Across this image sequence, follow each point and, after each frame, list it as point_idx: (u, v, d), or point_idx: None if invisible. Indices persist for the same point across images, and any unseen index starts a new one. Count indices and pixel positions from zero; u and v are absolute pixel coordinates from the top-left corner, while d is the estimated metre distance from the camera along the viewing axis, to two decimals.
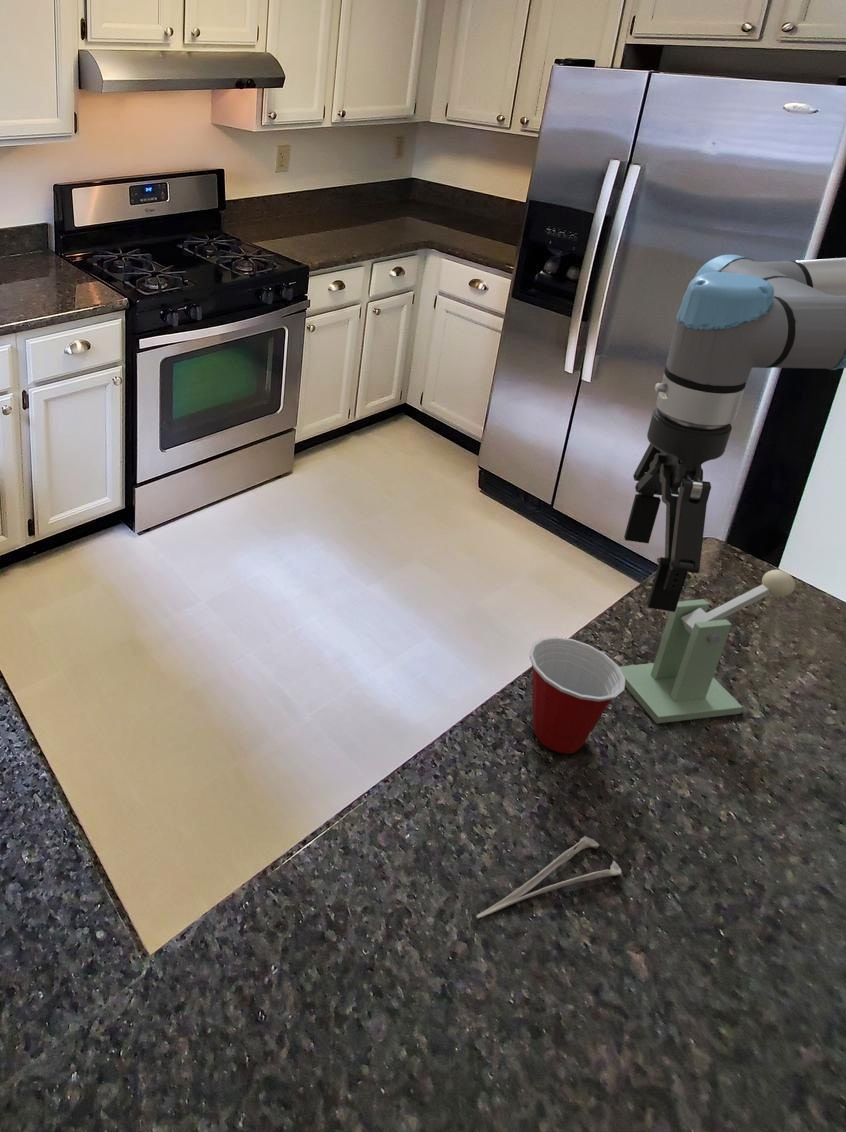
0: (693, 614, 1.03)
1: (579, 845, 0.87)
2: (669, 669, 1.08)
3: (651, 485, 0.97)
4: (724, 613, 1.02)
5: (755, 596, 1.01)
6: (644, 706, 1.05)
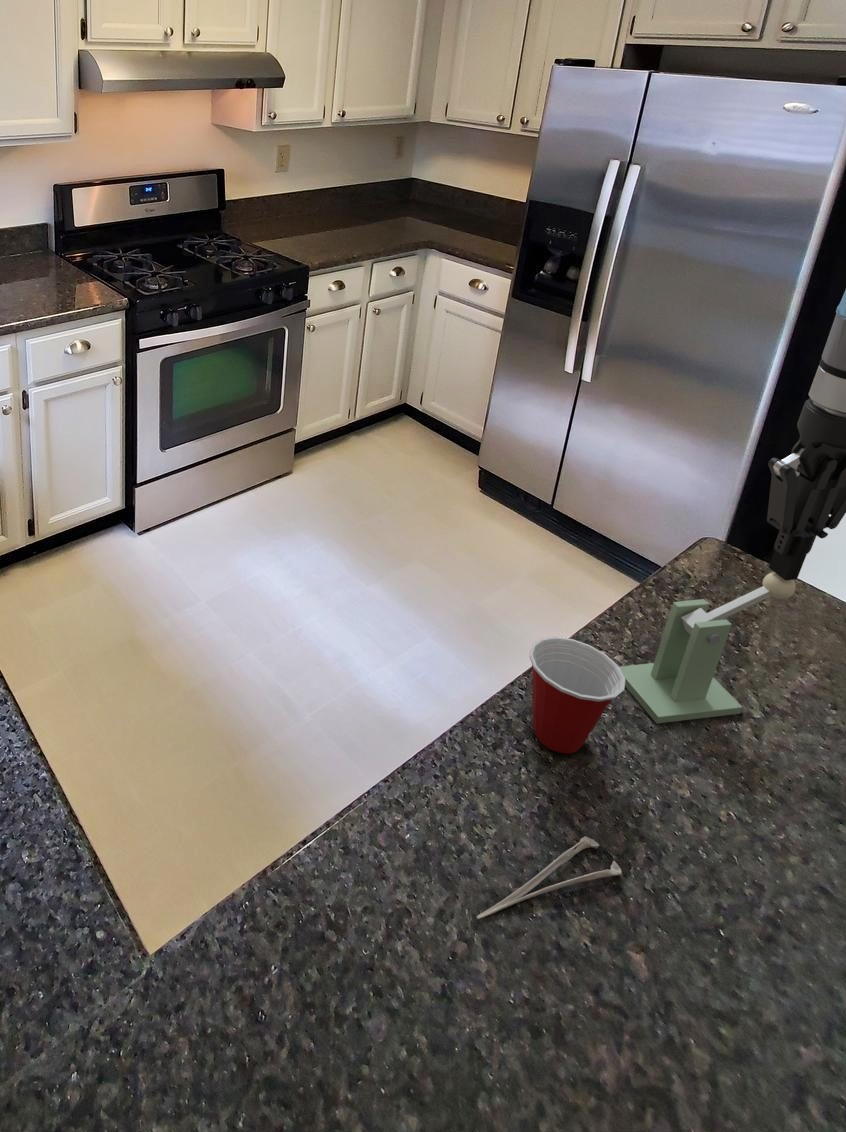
0: (693, 614, 1.03)
1: (579, 845, 0.87)
2: (669, 669, 1.08)
3: None
4: (725, 614, 1.02)
5: (756, 598, 1.02)
6: (644, 706, 1.05)
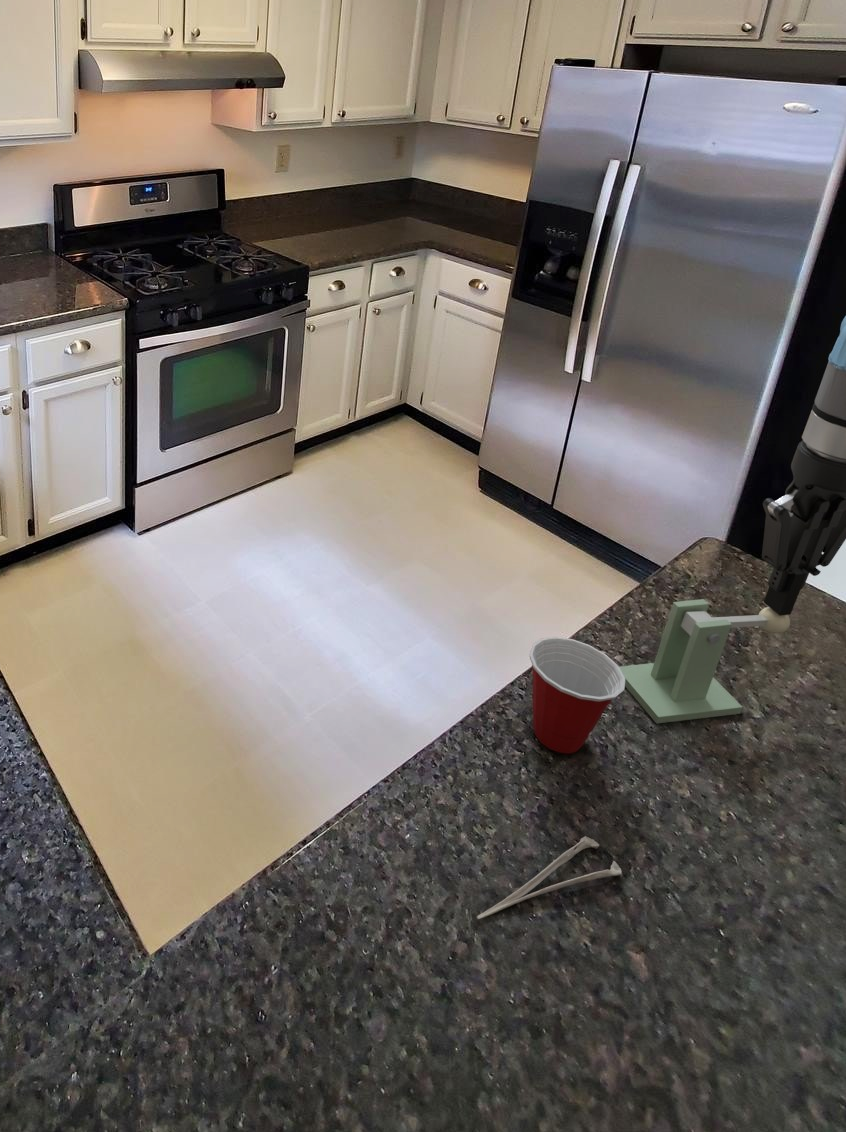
0: (698, 613, 1.03)
1: (579, 845, 0.87)
2: (669, 669, 1.08)
3: None
4: None
5: (754, 621, 1.03)
6: (644, 706, 1.05)
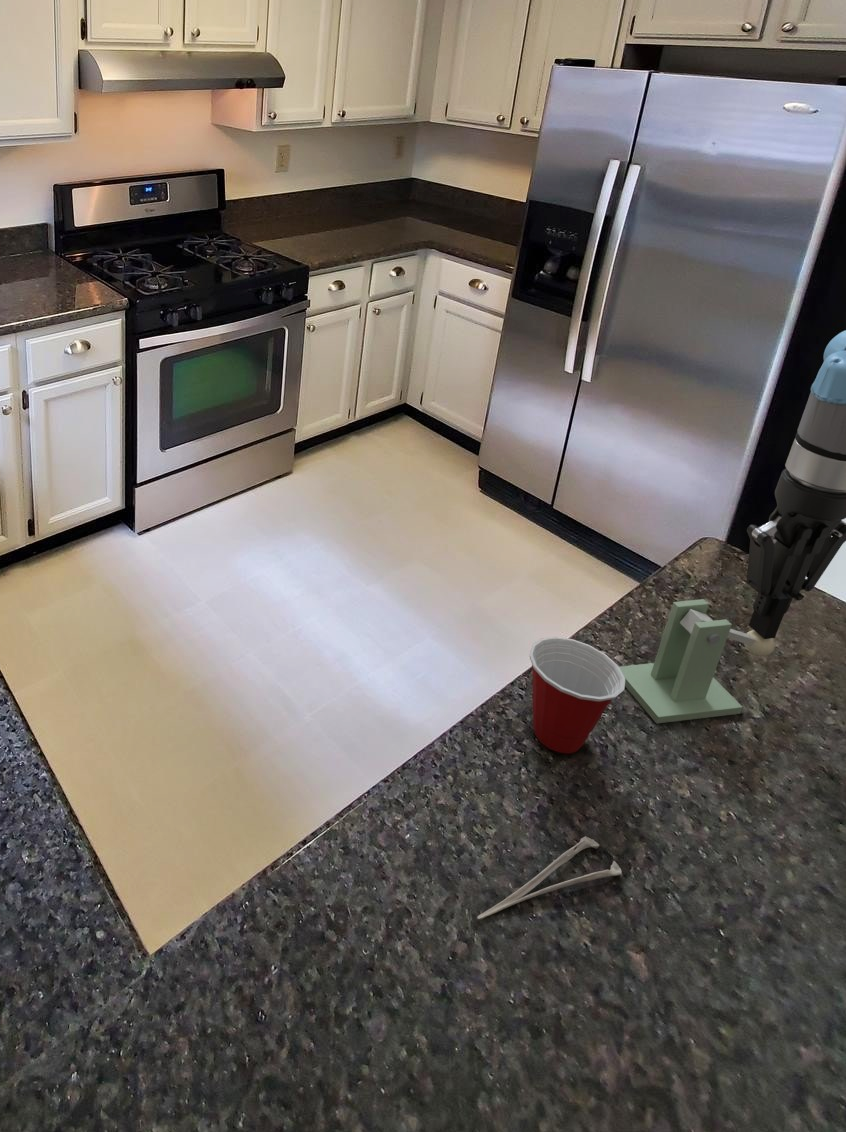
0: (701, 613, 1.03)
1: (579, 845, 0.87)
2: (669, 669, 1.08)
3: None
4: None
5: (745, 637, 1.04)
6: (644, 706, 1.05)
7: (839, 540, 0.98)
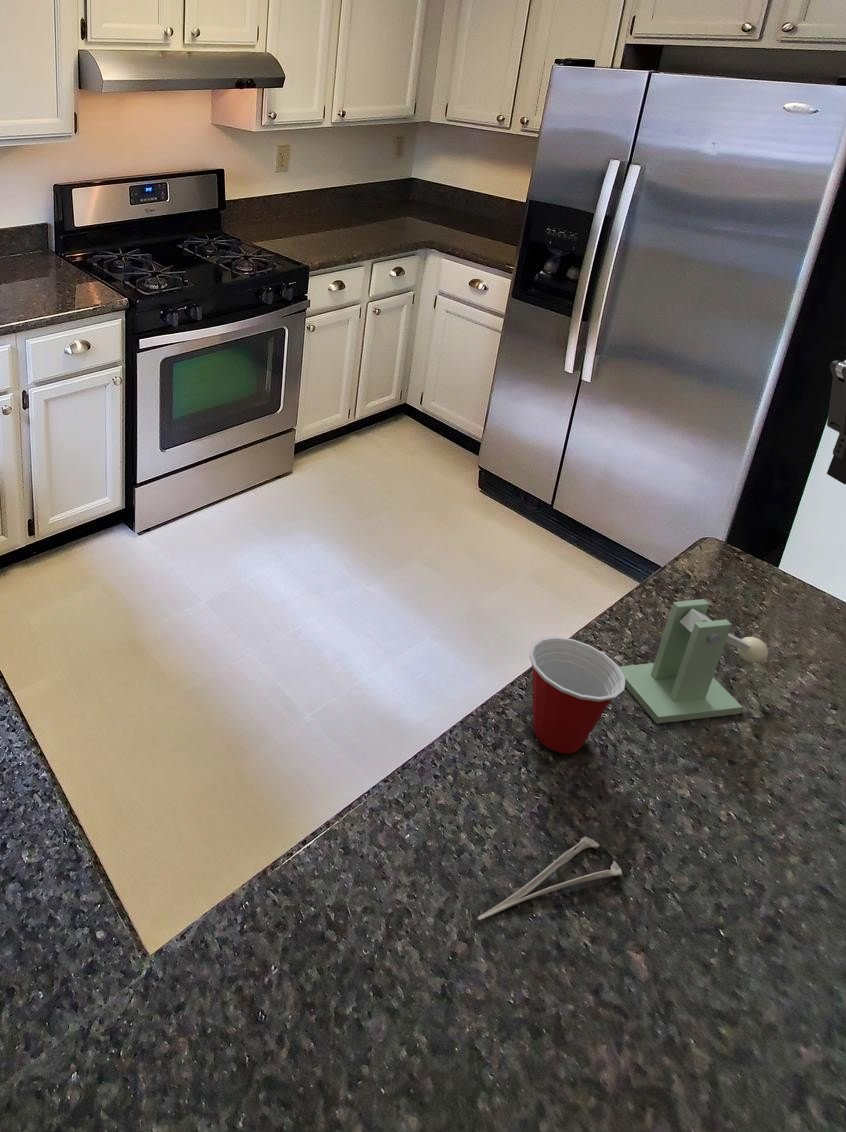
0: (701, 614, 1.03)
1: (579, 845, 0.87)
2: (669, 669, 1.08)
3: None
4: None
5: (741, 642, 1.05)
6: (644, 706, 1.05)
7: None
